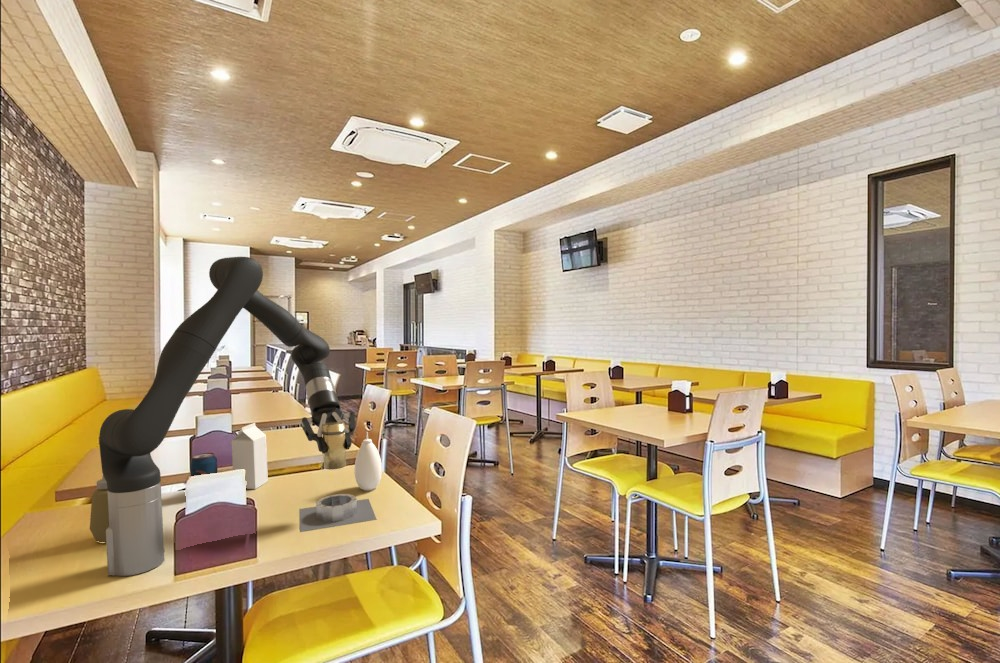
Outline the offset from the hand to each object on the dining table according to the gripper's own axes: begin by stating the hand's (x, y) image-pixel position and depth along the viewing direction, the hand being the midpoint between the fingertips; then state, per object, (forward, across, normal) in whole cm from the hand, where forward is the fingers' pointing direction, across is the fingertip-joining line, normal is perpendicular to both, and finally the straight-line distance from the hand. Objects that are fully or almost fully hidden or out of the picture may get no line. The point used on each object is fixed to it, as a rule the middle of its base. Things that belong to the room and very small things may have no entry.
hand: (336, 449), depth 132 cm
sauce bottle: (+2, +14, +24) cm, 28 cm away
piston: (+2, 0, +5) cm, 5 cm away
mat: (+12, 0, +14) cm, 18 cm away
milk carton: (-18, -15, +44) cm, 49 cm away
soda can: (-17, -27, +43) cm, 53 cm away
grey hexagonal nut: (+11, 0, +13) cm, 17 cm away
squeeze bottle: (-2, -48, +28) cm, 56 cm away
